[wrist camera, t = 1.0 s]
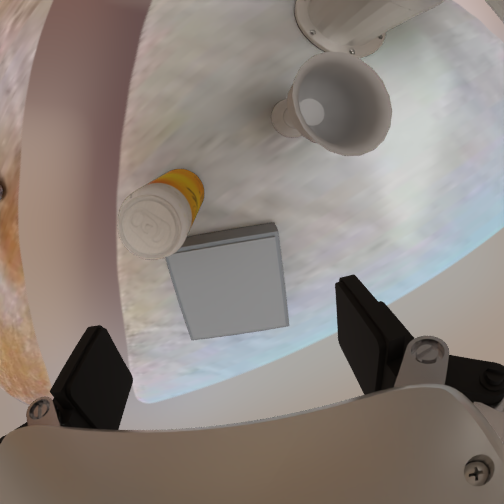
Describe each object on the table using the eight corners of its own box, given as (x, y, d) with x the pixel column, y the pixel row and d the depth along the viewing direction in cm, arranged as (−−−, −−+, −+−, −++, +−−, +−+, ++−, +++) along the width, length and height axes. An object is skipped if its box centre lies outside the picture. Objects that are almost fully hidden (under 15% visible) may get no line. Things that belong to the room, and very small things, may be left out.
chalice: (329, 128, 33) (408, 127, 17) (286, 156, 34) (334, 176, 18) (297, 80, 31) (352, 36, 14) (251, 108, 32) (269, 81, 15)
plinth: (169, 240, 38) (162, 251, 34) (274, 222, 38) (278, 232, 34) (194, 325, 43) (191, 341, 39) (285, 311, 43) (289, 327, 39)
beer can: (185, 224, 37) (158, 278, 23) (148, 196, 35) (100, 234, 21) (214, 188, 35) (202, 223, 22) (176, 158, 34) (139, 174, 20)
